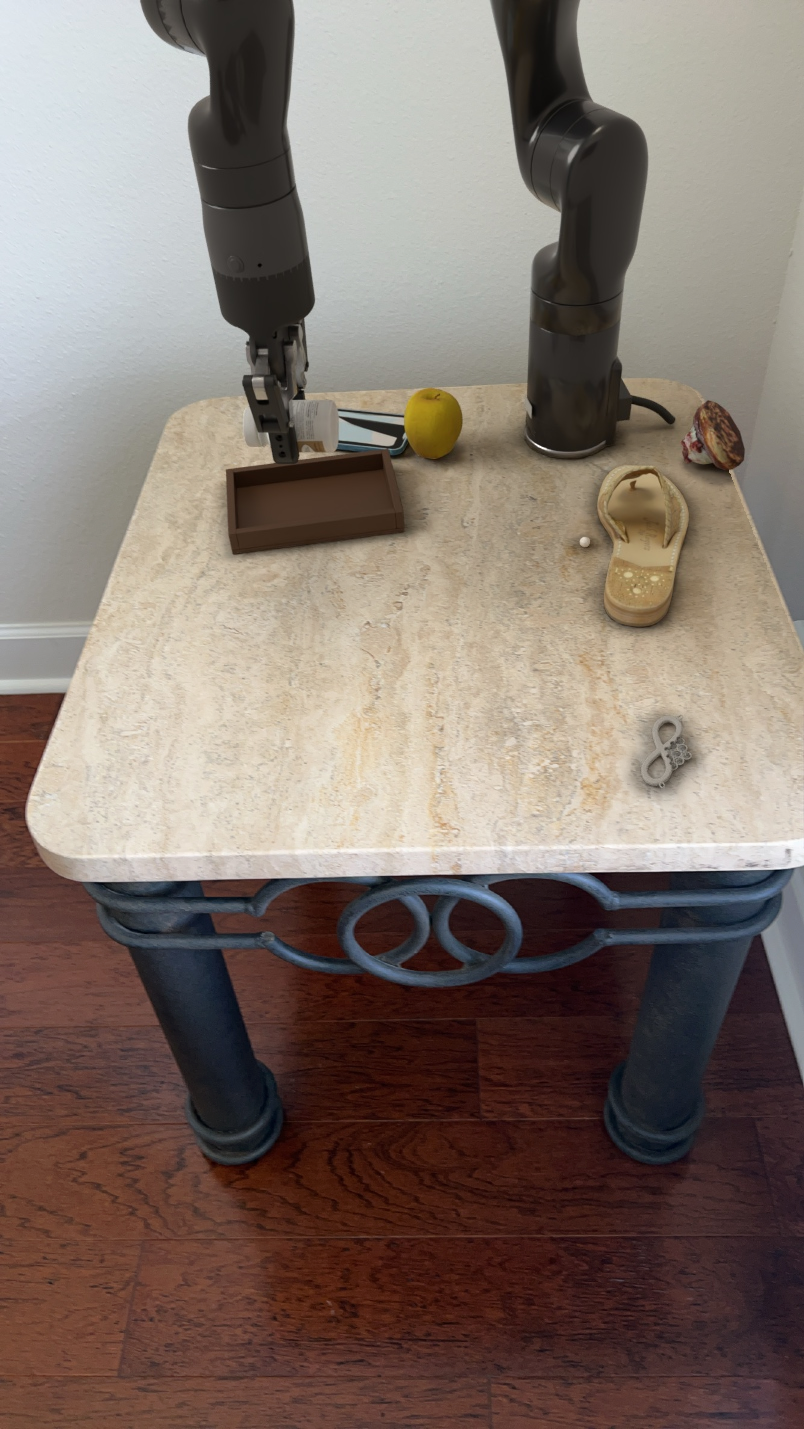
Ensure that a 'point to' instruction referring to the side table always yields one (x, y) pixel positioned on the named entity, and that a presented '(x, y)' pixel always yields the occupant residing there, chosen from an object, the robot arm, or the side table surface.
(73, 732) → the side table surface
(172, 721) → the side table surface
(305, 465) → the tray
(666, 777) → the charm
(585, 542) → the sphere
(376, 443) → the smartphone
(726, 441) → the pastry
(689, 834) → the side table surface
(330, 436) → the pill bottle
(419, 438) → the apple
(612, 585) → the sandal
